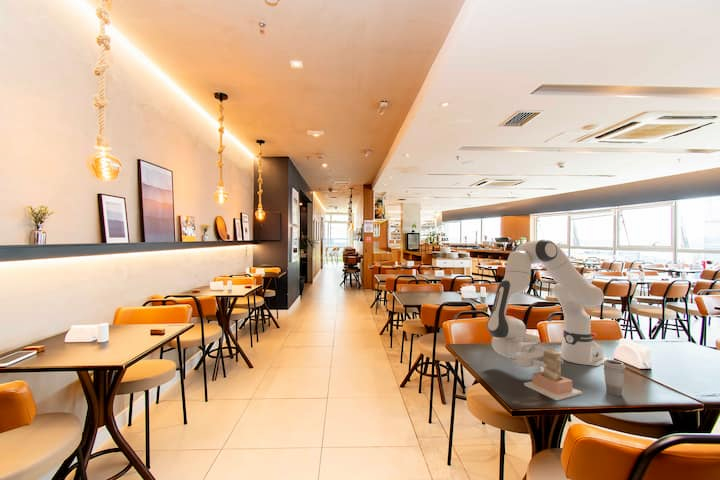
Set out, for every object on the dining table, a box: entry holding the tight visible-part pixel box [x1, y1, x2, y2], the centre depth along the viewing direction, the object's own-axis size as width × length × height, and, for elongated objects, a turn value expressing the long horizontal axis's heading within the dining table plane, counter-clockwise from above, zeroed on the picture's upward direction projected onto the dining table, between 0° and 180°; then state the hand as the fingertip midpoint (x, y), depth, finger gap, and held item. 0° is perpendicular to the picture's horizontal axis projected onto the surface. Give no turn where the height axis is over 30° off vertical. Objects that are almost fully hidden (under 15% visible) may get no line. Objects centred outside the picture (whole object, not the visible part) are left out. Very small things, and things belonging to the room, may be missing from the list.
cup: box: [601, 359, 626, 397], centre depth 125 cm, size 7×7×12 cm
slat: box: [543, 349, 562, 381], centre depth 128 cm, size 3×5×14 cm, turn 23°
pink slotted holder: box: [523, 371, 583, 401], centre depth 128 cm, size 14×14×5 cm
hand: (554, 363), depth 127 cm, fingers open, 8 cm apart
